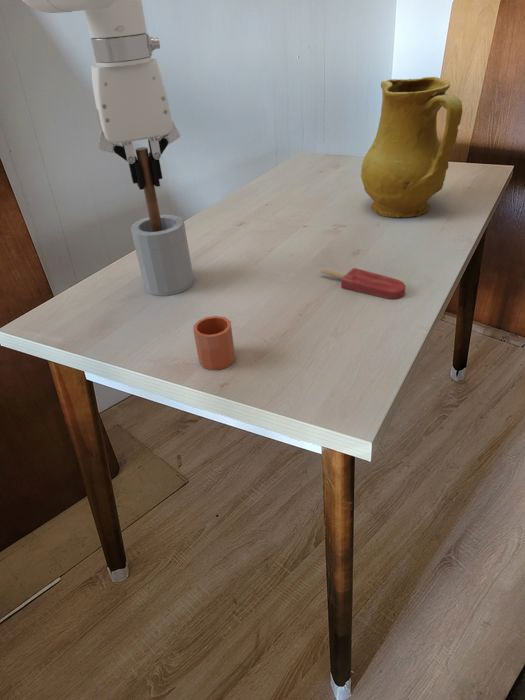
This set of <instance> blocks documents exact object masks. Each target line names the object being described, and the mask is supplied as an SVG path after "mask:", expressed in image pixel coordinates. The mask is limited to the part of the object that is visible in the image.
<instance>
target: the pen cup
mask: <svg viewBox="0 0 525 700" xmlns="http://www.w3.org/2000/svg"><path fill="white" fill-rule="evenodd" d="M192 331H193V336H194V342H195V347H196V353H197V359H198V361H199V364H200V366H201V367H203V368H204V369H207V370H209V371H217V370H223V369H226V368H228V367H230V366H231V365H232V364H233V363H234V362H235V360H236V353H235V352H236V351H235V345H234V336H233V329H232V321H231V320H230V319H228V318H227V317H225V316H220V315H211V316H205V317H204V318H201V319H199V320H197V321H196V323H194V324H193V330H192Z"/></svg>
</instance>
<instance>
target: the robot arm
mask: <svg viewBox="0 0 525 700" xmlns="http://www.w3.org/2000/svg"><path fill="white" fill-rule="evenodd" d="M21 1H22V2H23V3H24V4H25V5H27V6H28V7H30V8H32V9H34V10H35V11H38V12H41V13H45V14H46V13H48V14H61V13H62V14H63V13H73V12H79V11H80V12H82V11H84V15H85V18H86V23H87V28H88V33H89V37H90V42H91V46H92V50H93V56H94V59H95V64H92V65H91V66H90V67H91V68H90V70H91V72H90V73H91V83H92V90H93V91H92V92H93V97H94V102H95V108H96V114H97V118H98V123H99V127H100V130H99V135H98V137H99V138H98V143H97V144H98V145H97V146H98V148H99V150H100V151H103V152H107V153H112V154H115V155H117V156H118V157H120V158H122V159H123V160H125V162H127V163H128V167H129V172H130V176H131V181H132V184H136V185H137V187H138V189H139V191H140V190H141V191H142V190H144V189H143V188H145V187H144V182H143V177H142V172H141V167H140V163H139V162H138V160H137V155H135V151H134V147H133V142H135V141H143V140H147V144H148V154H149V159H150V165H151V170H152V176H153V181H154V185H155V187H157V188H158V187H161V182H160V180H163V173H162V167H161V163H160V161H161V160H160V159H161V158H162V154H163V153H164V152H165V150H166V148H167V147H168V145H170V144H173V142H175V141H177V140H178V139H180V137H181V134H180V132H179V130H178V128H177V126H176V125H175V123H174V121H173V118H172V113H171V108H170V104H169V99H168V95H167V91H166V86H165V82H164V80H163V76H162V72H161V69H160V66H159V64H158V61H157V59H156V58H152V56H153V53H154V52H153V51H156V50H158V49H159V50H160V49H161V43H160V39H159V37H153V36H151V35H149V33H148V31H147V24H146V18H145V13H144V7H143V1H142V0H21Z"/></svg>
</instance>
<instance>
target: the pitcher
mask: <svg viewBox="0 0 525 700" xmlns="http://www.w3.org/2000/svg"><path fill="white" fill-rule="evenodd" d="M380 87H381V90H382V91H381V92H382V93H381V94H382V96H381V97H382V98H381V99H382V100H381V107H380V109H381V110H380V117H379V123H378V127H377V131H376V135H375V137H374V140H373V141H372V144H371V146H370V148H369V149H368V150H367V152H366V153H365V156H364V158H363V160H362V164H361V170H360V178H361V181H362V185H363V187H364V191H365V193H366V194H367V196H368V197H370V199H372V200H373V203H372V204H371V210H372V211H373V212H374V213H376V214H378V216H382V217H384V218H385V217H387V218H396V219H399V218H401V219H402V218H404V219H405V218H410V217H411V218H413V217H420V216H422V215H424V214H427V213H429V211H430V209H431V204H430V203H429V202H428V201H429V200H430V199H431V198H432V197H433V196H434V195H435V194H437V193H438V192H440V191H442V189H443V187H444V182H445V180H446V175H447V171H448V169H449V160H450V158H451V157H452V155H453V147H454V146H455V145H456V142H457V137H458V133H459V126H460V125H461V121H462V116H463V102H462V100H461V99H460V98H459V96H457V95H456V94H451V93H450V94H448V93H446V92H447V91H448V90H449V88H450V87H451V83H450V81H448V80H446V79H443V78H440V77H437V76H426V77H422V78H408V79H407V78H406V79H402V78H401V79H400V78H399V79H398V78H391V79H387V80H382V81H381V82H380ZM442 107H443V108H444V109H445V110H446V113H445V114H446V116H445V125H444V131H443V135H442V138H441V141H440V140H439V137H438V132H437V122H438V121H437V119H438V118H437V115H438V112H439V111H440V110H441V108H442Z"/></svg>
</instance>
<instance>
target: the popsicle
mask: <svg viewBox="0 0 525 700" xmlns="http://www.w3.org/2000/svg"><path fill="white" fill-rule="evenodd" d="M320 273H322V274H325V275H329V276H333V277H337V278H340V288H342V289H344V290H349V291H354V292H357V293H358V292H359V293H363V294H366V295H371V296H375V297H380V298H384V299H389V300H390V299H391V300H394V299H400V298H402V297H403V296H405V294H406V285H405V283H404V282H403V281H402V280H399V279H397V278H394V277H390V276H386V275H383V274H379V273H374V272H371V271H367V270H364V269H360V268H356V267H353V268H351V270H349V271H348V272H347V273H346V274H344V273H339V272H335V271H331V270H327V269H321V270H320Z"/></svg>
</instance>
